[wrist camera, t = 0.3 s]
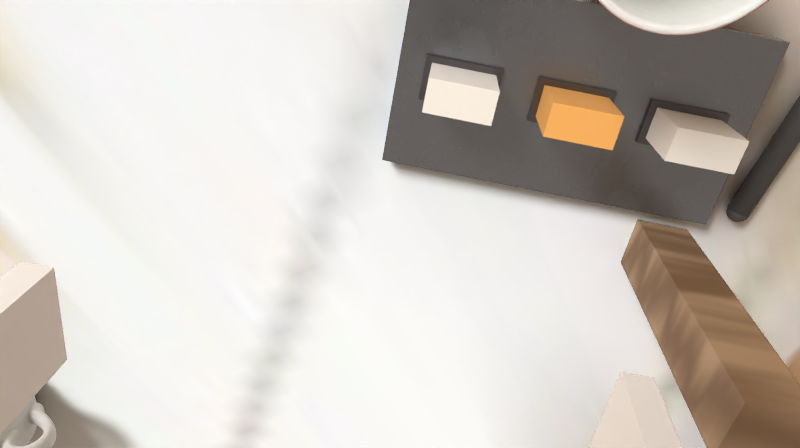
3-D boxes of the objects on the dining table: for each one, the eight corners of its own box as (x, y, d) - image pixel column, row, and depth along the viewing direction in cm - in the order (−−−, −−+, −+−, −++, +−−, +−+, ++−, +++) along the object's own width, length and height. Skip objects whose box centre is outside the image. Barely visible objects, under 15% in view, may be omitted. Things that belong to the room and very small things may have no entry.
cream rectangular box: (657, 107, 37) (678, 127, 33) (721, 120, 37) (749, 141, 33) (645, 138, 38) (664, 160, 34) (708, 150, 38) (733, 174, 34)
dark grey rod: (855, 1, 35) (870, 4, 33) (877, 9, 35) (892, 13, 34) (719, 212, 41) (727, 221, 40) (737, 218, 41) (746, 228, 40)
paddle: (432, 62, 37) (428, 77, 33) (496, 75, 37) (499, 91, 33) (425, 94, 38) (421, 112, 34) (488, 106, 38) (491, 126, 34)
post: (637, 219, 42) (745, 402, 26) (686, 229, 42) (824, 418, 26) (620, 262, 44) (711, 458, 28) (668, 271, 44) (786, 473, 28)
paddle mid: (544, 85, 37) (553, 102, 33) (608, 97, 37) (624, 116, 33) (535, 116, 38) (542, 136, 34) (598, 128, 38) (612, 150, 34)
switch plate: (417, -34, 36) (414, -32, 34) (777, 38, 36) (792, 43, 34) (384, 152, 42) (381, 161, 40) (697, 214, 41) (707, 226, 40)
